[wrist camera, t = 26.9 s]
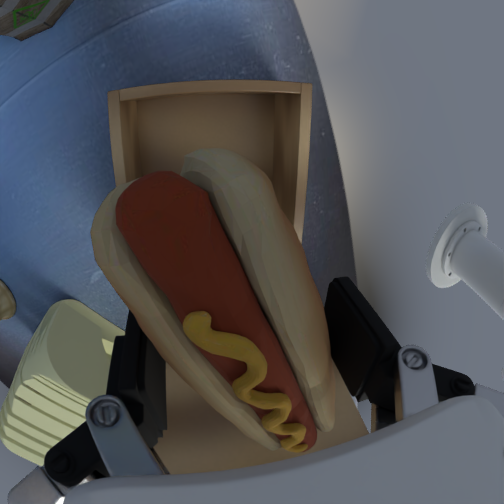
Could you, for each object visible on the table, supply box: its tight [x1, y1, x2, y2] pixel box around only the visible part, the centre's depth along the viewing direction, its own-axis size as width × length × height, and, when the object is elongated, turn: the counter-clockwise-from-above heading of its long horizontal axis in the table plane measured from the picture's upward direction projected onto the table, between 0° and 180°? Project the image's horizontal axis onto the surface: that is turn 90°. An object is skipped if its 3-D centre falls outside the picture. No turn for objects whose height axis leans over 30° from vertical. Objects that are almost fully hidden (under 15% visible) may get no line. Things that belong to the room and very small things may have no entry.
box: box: [107, 79, 312, 243], centre depth 25 cm, size 19×15×8 cm
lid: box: [154, 359, 369, 475], centre depth 19 cm, size 20×15×5 cm
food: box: [90, 148, 335, 453], centre depth 10 cm, size 14×6×5 cm, turn 19°
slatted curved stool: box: [0, 299, 125, 466], centre depth 28 cm, size 30×16×18 cm, turn 130°
